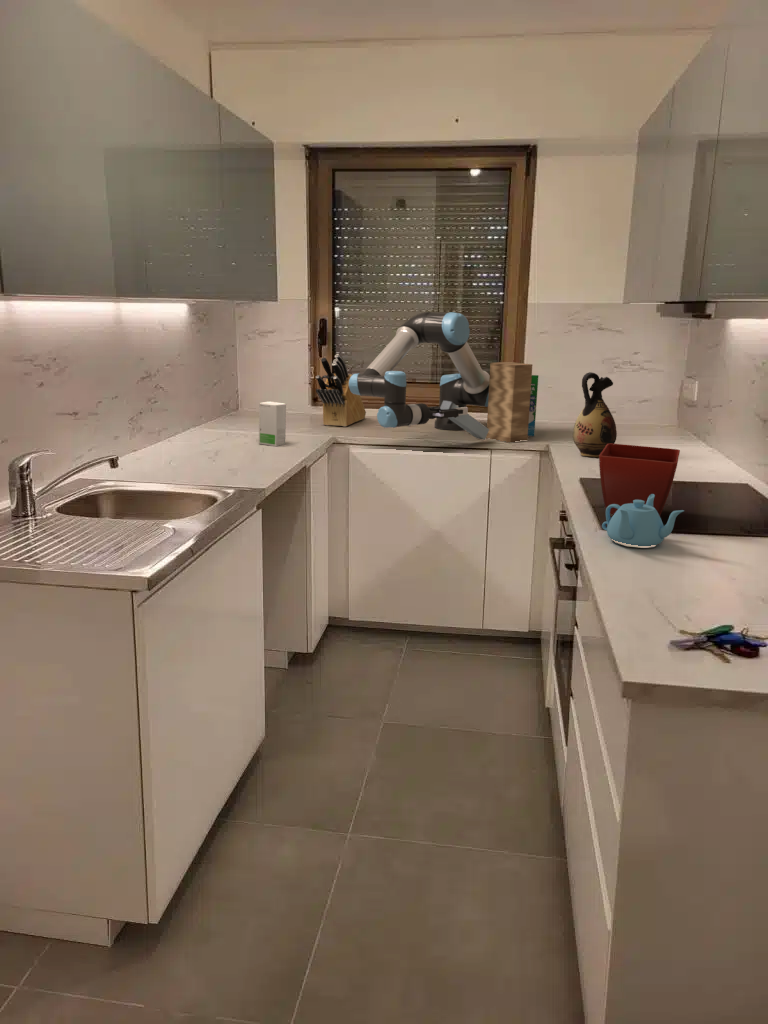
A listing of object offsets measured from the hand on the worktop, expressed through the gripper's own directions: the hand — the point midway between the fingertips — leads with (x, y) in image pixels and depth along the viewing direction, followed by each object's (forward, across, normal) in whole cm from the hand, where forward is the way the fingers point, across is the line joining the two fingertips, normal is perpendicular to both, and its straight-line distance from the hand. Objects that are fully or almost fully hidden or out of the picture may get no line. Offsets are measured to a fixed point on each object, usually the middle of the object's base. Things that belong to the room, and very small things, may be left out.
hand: (462, 409), depth 303 cm
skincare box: (-58, -41, -14) cm, 73 cm away
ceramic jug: (+27, +40, -14) cm, 50 cm away
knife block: (-8, -67, -14) cm, 69 cm away
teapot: (-52, +114, -14) cm, 127 cm away
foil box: (0, 0, -6) cm, 6 cm away
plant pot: (-30, +98, -14) cm, 104 cm away
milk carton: (+41, -5, -14) cm, 43 cm away
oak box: (+26, 0, -14) cm, 29 cm away
